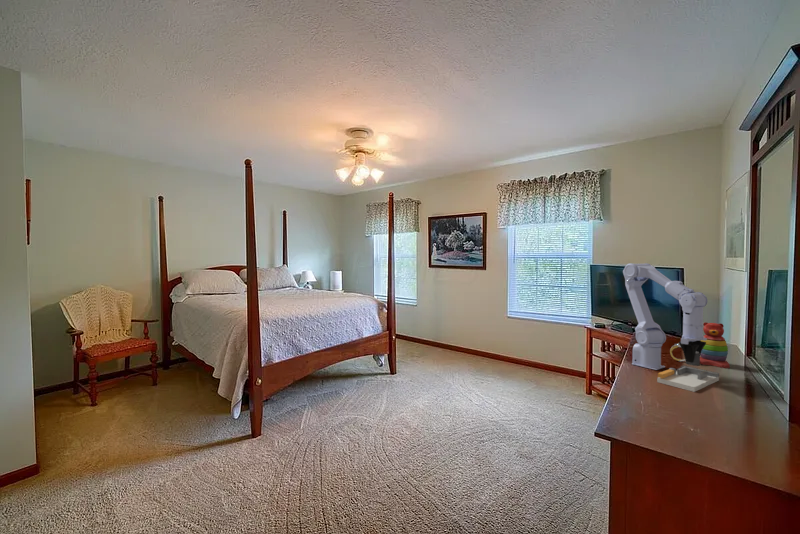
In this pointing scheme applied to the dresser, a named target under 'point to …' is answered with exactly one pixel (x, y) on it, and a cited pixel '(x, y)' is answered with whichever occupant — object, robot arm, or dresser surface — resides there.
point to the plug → (695, 360)
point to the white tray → (690, 378)
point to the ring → (674, 348)
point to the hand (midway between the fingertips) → (692, 360)
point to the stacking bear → (714, 346)
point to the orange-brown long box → (667, 373)
